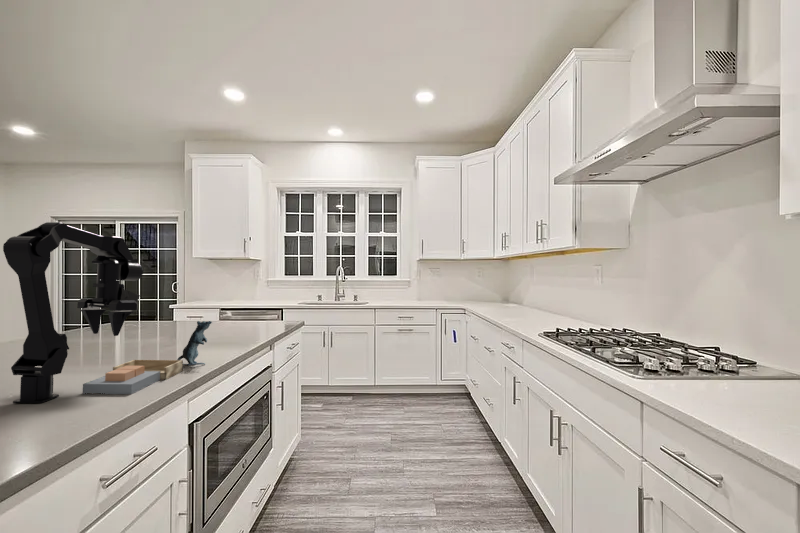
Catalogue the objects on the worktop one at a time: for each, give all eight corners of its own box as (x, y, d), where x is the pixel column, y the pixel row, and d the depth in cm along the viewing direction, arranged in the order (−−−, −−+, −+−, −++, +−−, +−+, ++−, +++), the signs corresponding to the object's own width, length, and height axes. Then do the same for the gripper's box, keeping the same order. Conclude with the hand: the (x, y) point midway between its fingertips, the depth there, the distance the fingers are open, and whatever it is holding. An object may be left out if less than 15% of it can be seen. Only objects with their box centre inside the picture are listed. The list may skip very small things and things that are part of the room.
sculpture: (203, 367, 151) (205, 322, 152) (171, 366, 151) (173, 321, 152) (214, 362, 160) (215, 320, 160) (183, 362, 160) (185, 319, 160)
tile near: (124, 381, 120) (125, 373, 120) (105, 380, 119) (105, 373, 119) (134, 376, 125) (134, 369, 125) (115, 376, 124) (115, 369, 124)
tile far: (135, 376, 125) (135, 369, 125) (116, 376, 125) (116, 369, 125) (144, 372, 130) (144, 365, 130) (126, 372, 130) (126, 365, 130)
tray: (165, 379, 133) (166, 367, 133) (112, 379, 132) (112, 367, 132) (182, 371, 145) (182, 360, 145) (133, 370, 144) (134, 359, 144)
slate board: (131, 394, 116) (131, 384, 116) (82, 393, 116) (82, 384, 116) (159, 379, 132) (160, 371, 132) (117, 379, 132) (117, 371, 132)
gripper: (156, 281, 134) (153, 334, 133) (115, 280, 142) (113, 330, 141) (119, 280, 124) (115, 337, 123) (77, 279, 132) (74, 333, 131)
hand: (105, 334), depth 130 cm, fingers open, 9 cm apart
